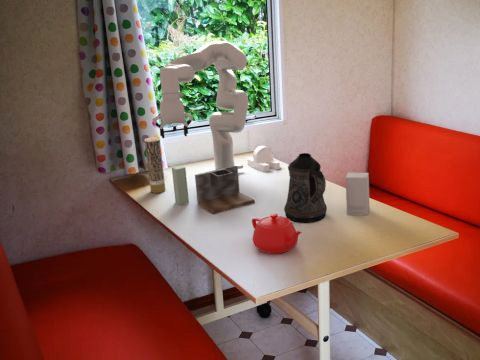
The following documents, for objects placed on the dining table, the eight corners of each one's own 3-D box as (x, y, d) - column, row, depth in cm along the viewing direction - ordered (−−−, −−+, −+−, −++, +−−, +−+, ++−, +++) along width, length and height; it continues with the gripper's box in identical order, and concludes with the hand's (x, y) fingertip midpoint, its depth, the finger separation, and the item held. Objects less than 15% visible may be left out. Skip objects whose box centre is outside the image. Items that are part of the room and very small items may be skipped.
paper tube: (166, 188, 261) (161, 136, 254) (163, 193, 255) (157, 140, 247) (152, 188, 262) (146, 137, 255) (149, 193, 256) (142, 141, 248)
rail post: (184, 200, 244) (181, 165, 239) (189, 202, 241) (185, 167, 236) (175, 202, 242) (171, 167, 237) (179, 205, 238) (175, 169, 234)
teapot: (237, 244, 196) (234, 212, 192) (270, 231, 205) (268, 200, 201) (285, 267, 177) (283, 232, 174) (319, 251, 186) (318, 218, 182)
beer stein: (297, 205, 228) (295, 147, 221) (341, 213, 218) (340, 151, 210) (276, 219, 216) (273, 157, 208) (321, 228, 205) (320, 163, 197)
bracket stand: (237, 194, 247) (235, 165, 243) (254, 202, 235) (252, 172, 231) (197, 204, 237) (194, 174, 233) (213, 214, 226) (210, 182, 222)
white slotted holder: (264, 172, 276) (263, 151, 273) (246, 164, 291) (245, 144, 288) (280, 168, 280) (279, 148, 277) (262, 161, 296) (261, 141, 292)
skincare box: (369, 210, 219) (369, 172, 214) (367, 216, 213) (367, 177, 208) (348, 208, 222) (348, 171, 217) (345, 215, 216) (345, 176, 211)
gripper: (189, 94, 239) (192, 133, 244) (149, 97, 235) (153, 137, 239) (193, 96, 232) (195, 136, 237) (151, 99, 228) (155, 140, 232)
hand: (174, 136), depth 238 cm, fingers open, 9 cm apart
